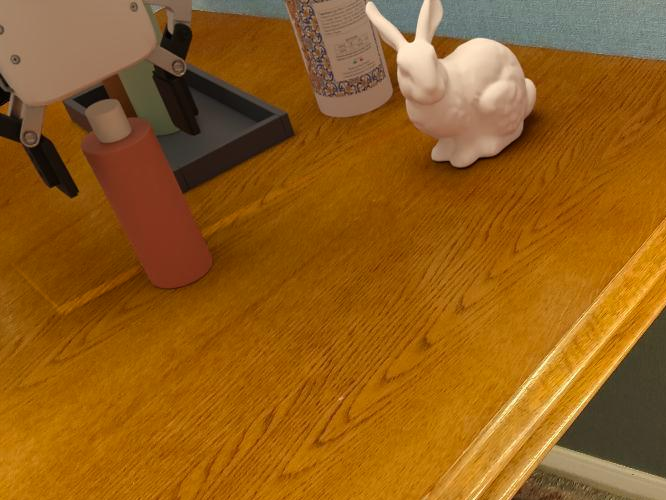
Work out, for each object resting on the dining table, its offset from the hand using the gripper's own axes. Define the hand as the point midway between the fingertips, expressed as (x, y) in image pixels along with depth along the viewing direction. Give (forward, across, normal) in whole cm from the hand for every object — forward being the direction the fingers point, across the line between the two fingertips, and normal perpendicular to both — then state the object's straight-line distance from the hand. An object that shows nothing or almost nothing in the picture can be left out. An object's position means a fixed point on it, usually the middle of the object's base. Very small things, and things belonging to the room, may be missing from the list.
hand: (129, 159), depth 71 cm
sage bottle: (+8, -11, -23) cm, 27 cm away
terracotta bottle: (+9, 0, 0) cm, 9 cm away
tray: (+9, -11, -21) cm, 26 cm away
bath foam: (+9, -24, -10) cm, 28 cm away
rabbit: (+10, -25, +5) cm, 27 cm away
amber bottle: (+8, -11, -29) cm, 32 cm away
